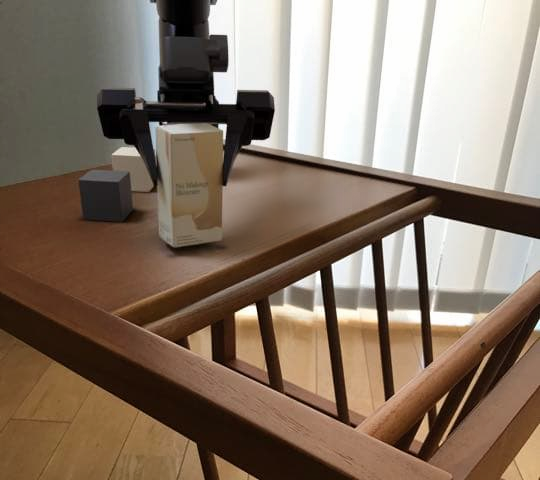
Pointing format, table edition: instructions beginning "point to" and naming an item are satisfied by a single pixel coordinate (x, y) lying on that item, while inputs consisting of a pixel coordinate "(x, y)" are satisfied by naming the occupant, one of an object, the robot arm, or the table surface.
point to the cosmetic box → (189, 183)
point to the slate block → (106, 195)
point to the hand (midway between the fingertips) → (190, 184)
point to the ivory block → (133, 168)
